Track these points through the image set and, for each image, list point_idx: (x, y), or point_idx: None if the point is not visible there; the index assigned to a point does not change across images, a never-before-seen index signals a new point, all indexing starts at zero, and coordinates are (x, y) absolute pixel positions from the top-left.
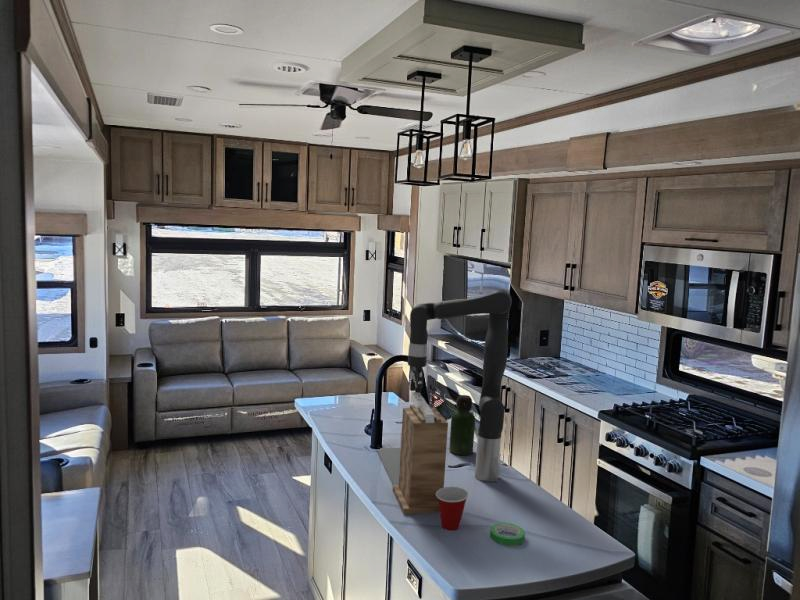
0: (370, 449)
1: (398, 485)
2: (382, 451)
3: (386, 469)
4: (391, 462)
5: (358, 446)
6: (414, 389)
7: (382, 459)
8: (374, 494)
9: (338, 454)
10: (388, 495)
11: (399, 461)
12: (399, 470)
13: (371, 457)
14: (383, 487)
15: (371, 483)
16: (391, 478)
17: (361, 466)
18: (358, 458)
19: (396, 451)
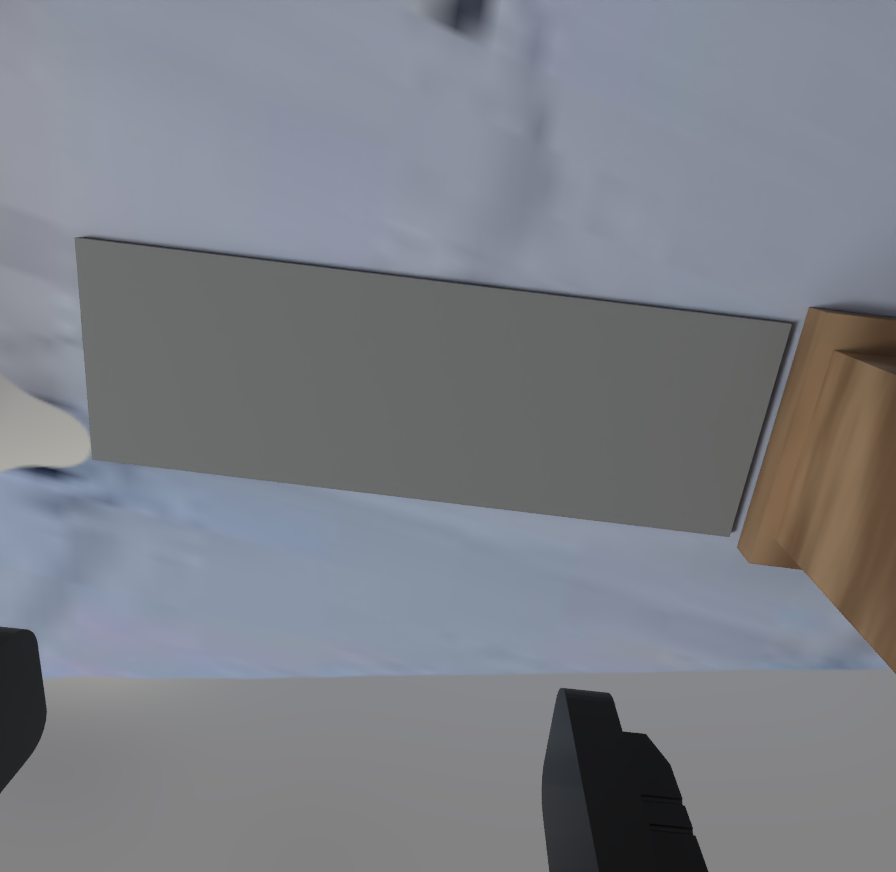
0: (96, 487)
1: (765, 535)
2: (154, 437)
3: (460, 502)
4: (353, 439)
5: (45, 542)
6: (14, 669)
7: (296, 477)
8: (752, 643)
9: (179, 672)
10: (791, 584)
11: (342, 384)
12: (822, 591)
13: (235, 519)
14: (683, 579)
15: (614, 620)
16: (600, 515)
17: (370, 606)
18: (246, 591)
19: (155, 344)
